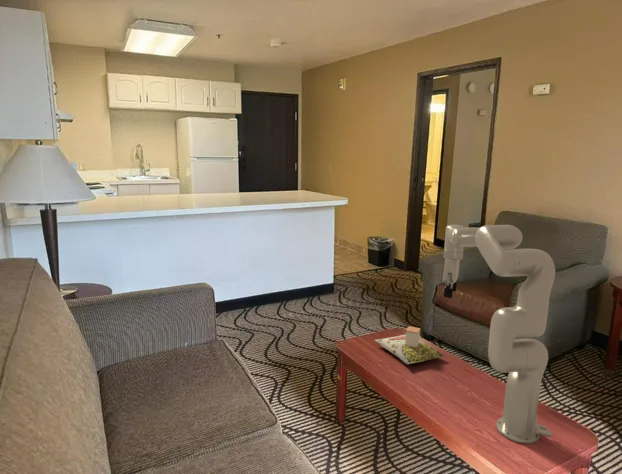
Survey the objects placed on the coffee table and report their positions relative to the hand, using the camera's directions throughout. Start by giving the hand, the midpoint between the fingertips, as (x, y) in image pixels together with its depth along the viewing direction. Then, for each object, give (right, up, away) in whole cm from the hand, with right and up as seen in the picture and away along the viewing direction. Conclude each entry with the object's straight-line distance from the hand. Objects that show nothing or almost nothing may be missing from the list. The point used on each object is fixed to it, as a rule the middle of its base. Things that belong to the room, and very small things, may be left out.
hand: (450, 293), depth 178 cm
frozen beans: (-15, -29, +12) cm, 35 cm away
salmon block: (-14, -23, +9) cm, 29 cm away
